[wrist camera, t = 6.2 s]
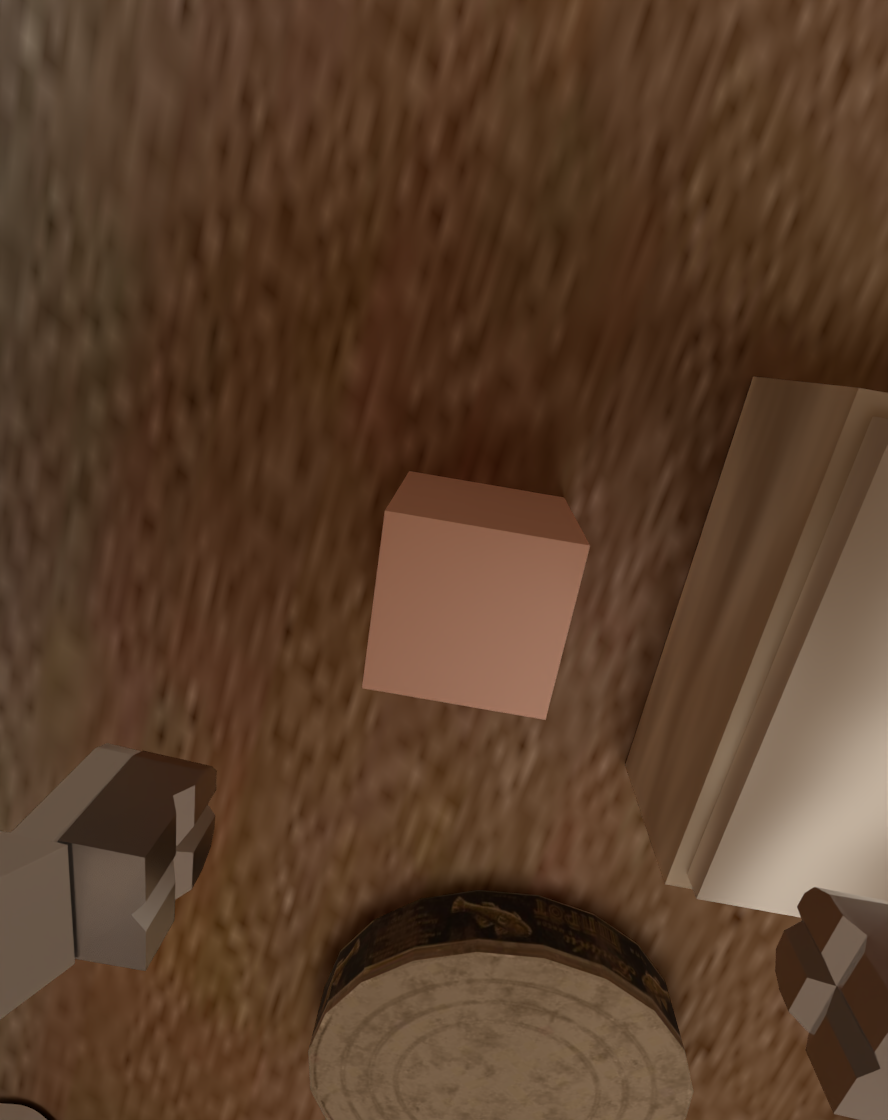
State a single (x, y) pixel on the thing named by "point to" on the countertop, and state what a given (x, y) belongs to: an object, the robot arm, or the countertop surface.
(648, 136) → the countertop surface
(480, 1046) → the brown flat disc
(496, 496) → the terracotta cube
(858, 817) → the cream square block
